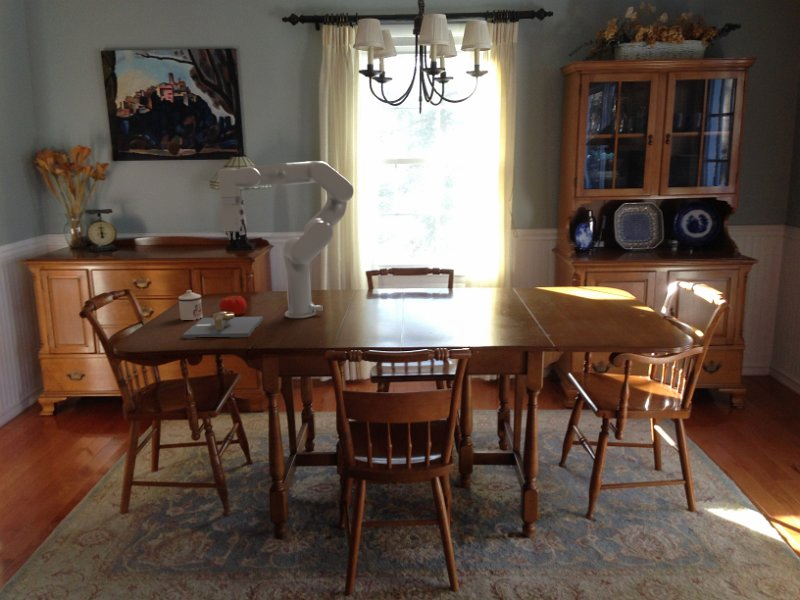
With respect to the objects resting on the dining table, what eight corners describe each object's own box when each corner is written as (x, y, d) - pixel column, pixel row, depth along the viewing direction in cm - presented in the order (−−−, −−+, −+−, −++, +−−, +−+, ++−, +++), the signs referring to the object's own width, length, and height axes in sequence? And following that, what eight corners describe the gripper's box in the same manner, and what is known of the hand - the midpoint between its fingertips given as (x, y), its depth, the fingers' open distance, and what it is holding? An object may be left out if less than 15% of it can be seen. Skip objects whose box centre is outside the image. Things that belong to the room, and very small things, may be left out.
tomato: (227, 311, 285) (225, 294, 283) (251, 312, 283) (250, 294, 281) (216, 317, 275) (214, 299, 273) (241, 318, 273) (239, 300, 271)
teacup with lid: (197, 321, 270) (194, 292, 267) (176, 321, 271) (173, 292, 268) (209, 313, 281) (207, 286, 279) (189, 313, 283) (186, 286, 280)
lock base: (262, 320, 269) (261, 310, 268) (248, 337, 245) (247, 326, 244) (202, 321, 269) (201, 311, 268) (183, 338, 246) (182, 327, 245)
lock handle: (215, 320, 260) (214, 310, 259) (236, 319, 261) (235, 309, 260) (207, 330, 246) (206, 319, 245) (229, 329, 247) (228, 318, 246)
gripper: (252, 201, 255) (256, 249, 260) (223, 200, 263) (228, 247, 267) (238, 202, 249) (242, 252, 253) (209, 202, 257) (214, 250, 261)
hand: (235, 249), depth 260 cm, fingers closed
